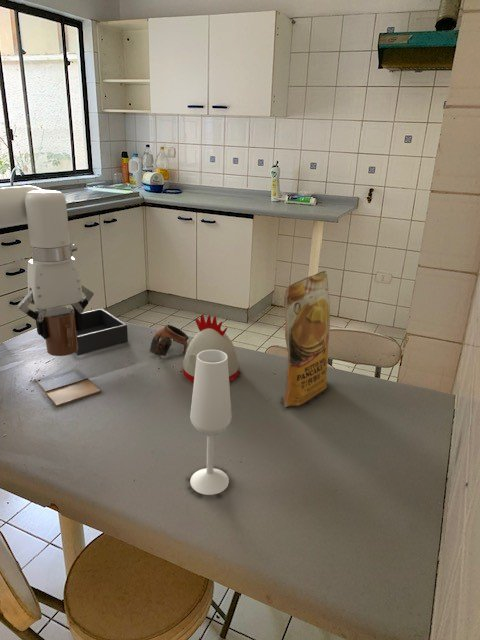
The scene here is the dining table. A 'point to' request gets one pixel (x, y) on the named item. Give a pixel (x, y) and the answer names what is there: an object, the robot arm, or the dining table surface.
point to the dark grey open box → (100, 331)
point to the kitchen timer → (210, 347)
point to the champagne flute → (210, 414)
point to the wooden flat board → (71, 392)
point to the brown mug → (61, 331)
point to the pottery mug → (167, 339)
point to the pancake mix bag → (306, 338)
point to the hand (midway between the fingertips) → (60, 332)
